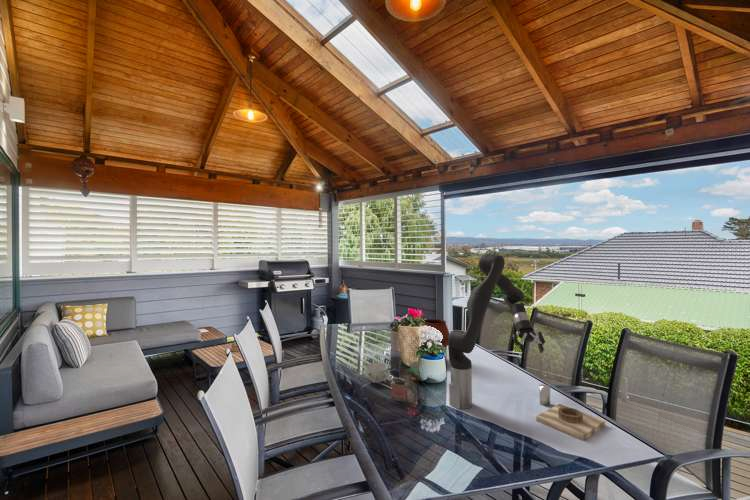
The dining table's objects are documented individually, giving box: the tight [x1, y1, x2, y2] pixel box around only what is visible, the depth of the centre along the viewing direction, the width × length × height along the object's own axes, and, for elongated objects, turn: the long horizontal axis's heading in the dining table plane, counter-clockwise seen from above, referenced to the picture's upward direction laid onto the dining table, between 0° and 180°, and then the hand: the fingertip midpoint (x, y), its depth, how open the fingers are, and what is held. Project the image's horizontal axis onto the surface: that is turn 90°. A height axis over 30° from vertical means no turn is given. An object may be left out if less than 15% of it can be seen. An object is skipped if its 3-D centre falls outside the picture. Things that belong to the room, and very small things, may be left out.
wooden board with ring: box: [535, 403, 606, 442], centre depth 140 cm, size 18×18×4 cm
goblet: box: [422, 318, 450, 349], centre depth 217 cm, size 19×19×25 cm
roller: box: [538, 384, 551, 407], centre depth 157 cm, size 4×4×8 cm
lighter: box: [390, 376, 409, 402], centre depth 164 cm, size 8×3×10 cm, turn 65°
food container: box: [408, 360, 421, 382], centre depth 187 cm, size 12×6×10 cm, turn 117°
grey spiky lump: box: [364, 361, 389, 384], centre depth 185 cm, size 15×12×8 cm
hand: (533, 352), depth 168 cm, fingers open, 8 cm apart
